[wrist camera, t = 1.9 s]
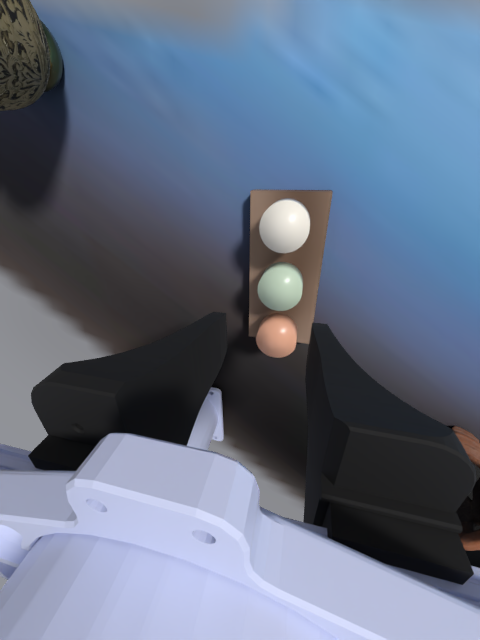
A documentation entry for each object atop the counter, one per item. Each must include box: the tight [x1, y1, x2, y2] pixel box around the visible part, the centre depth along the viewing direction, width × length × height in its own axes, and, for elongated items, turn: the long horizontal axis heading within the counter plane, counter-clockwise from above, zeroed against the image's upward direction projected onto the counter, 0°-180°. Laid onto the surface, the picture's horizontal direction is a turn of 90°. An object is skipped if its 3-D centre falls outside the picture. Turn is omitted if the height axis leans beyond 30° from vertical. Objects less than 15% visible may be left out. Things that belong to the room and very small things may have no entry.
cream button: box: [259, 198, 310, 253], centre depth 16 cm, size 3×3×2 cm
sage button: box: [258, 262, 303, 311], centre depth 18 cm, size 3×3×2 cm
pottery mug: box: [452, 426, 480, 551], centre depth 23 cm, size 12×9×8 cm
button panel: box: [249, 190, 332, 344], centre depth 20 cm, size 5×11×1 cm, turn 0°
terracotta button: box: [256, 313, 297, 358], centre depth 19 cm, size 3×3×2 cm
